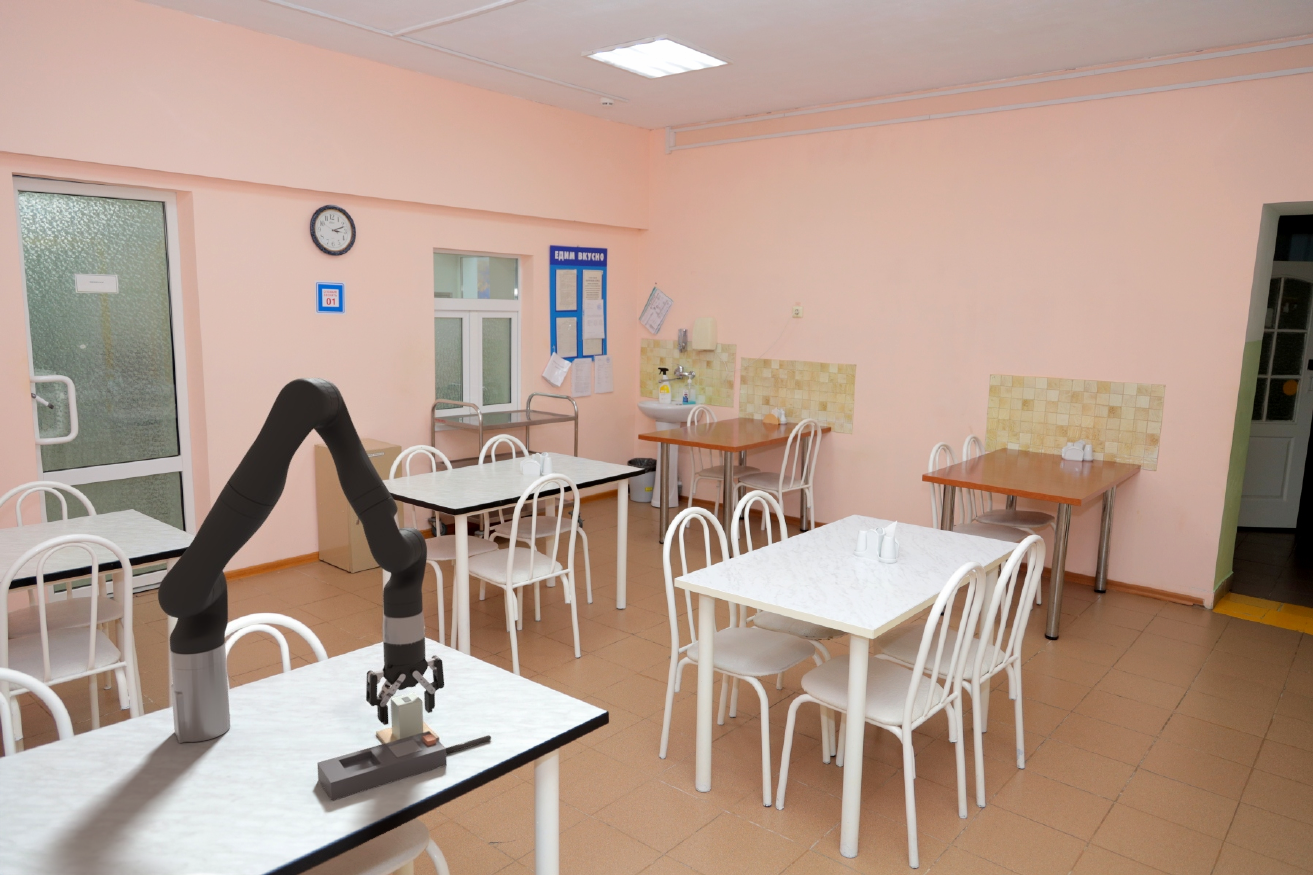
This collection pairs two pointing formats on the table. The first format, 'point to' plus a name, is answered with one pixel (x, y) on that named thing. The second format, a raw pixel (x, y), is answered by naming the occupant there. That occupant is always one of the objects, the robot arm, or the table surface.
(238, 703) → the table surface
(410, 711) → the block
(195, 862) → the table surface
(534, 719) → the table surface
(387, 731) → the cork mat
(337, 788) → the power strip
